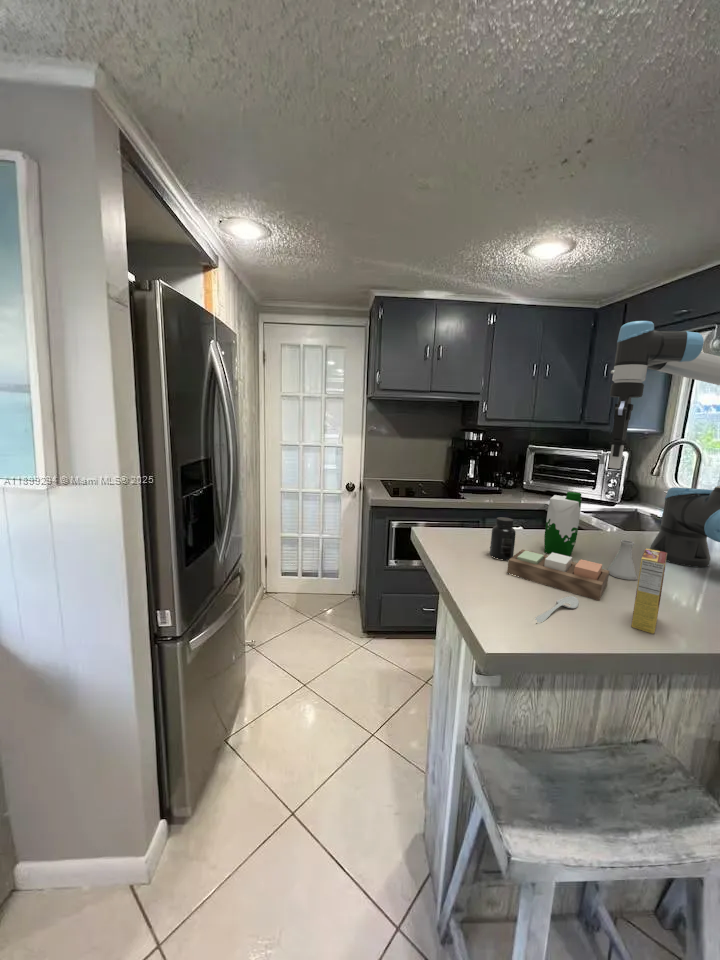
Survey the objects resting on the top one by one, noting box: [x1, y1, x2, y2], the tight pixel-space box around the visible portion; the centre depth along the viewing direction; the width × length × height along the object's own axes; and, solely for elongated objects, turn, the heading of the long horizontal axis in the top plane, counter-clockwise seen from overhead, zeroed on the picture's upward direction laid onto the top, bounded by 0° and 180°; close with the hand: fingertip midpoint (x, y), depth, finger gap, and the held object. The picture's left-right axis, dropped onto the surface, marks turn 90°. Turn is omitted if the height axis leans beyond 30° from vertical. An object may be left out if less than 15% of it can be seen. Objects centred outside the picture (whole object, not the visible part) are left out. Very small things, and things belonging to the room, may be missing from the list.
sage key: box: [517, 549, 545, 564], centre depth 109 cm, size 5×7×4 cm
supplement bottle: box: [489, 516, 517, 561], centre depth 119 cm, size 7×7×12 cm
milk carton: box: [543, 491, 582, 557], centre depth 125 cm, size 9×9×20 cm
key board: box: [506, 549, 610, 601], centre depth 105 cm, size 22×12×4 cm, turn 50°
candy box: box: [630, 548, 667, 635], centre depth 83 cm, size 9×4×15 cm, turn 140°
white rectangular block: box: [544, 552, 573, 572], centre depth 104 cm, size 5×7×4 cm
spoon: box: [535, 595, 580, 624], centre depth 87 cm, size 4×21×2 cm, turn 127°
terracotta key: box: [574, 559, 603, 581], centre depth 100 cm, size 5×7×4 cm
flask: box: [606, 539, 638, 581], centre depth 109 cm, size 7×7×10 cm
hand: (614, 467), depth 111 cm, fingers closed
